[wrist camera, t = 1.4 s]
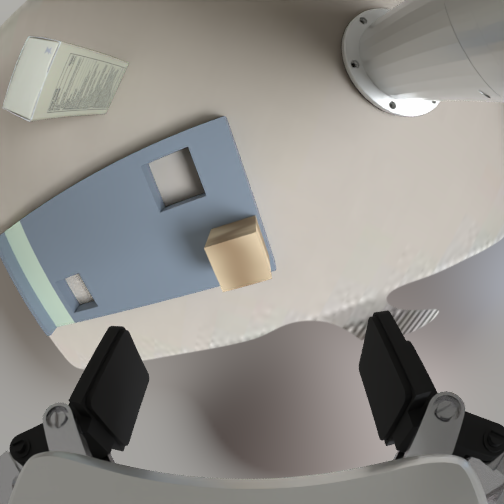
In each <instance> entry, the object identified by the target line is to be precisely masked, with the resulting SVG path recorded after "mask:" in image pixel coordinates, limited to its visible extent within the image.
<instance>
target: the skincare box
mask: <svg viewBox="0 0 504 504" xmlns="http://www.w3.org/2000/svg"><path fill="white" fill-rule="evenodd" d="M128 64H129V63H128V62H125V61H123V60H120V59H117V58H114V57H112V56H109V55H106V54H103V53H100V52H97V51H93V50H90V49H87V48H84V47H80V46H77V45H73V44H69V43H65V42H61V41H57V40H53V39H49V38H43V37H36V36H29V37H28V38H27V40H26V42H25V44H24V47H23V49H22V51H21V53H20V56H19V58H18V61H17V63H16V66H15V68H14V71H13V74H12V77H11V80H10V83H9V86H8V89H7V93H6V96H5V100H4V103H3V107H2V108H3V109H5V110H7V111H8V112H10V113H12V114H14V115H16V116H18V117H20V118H22V119H24V120H26V121H29V122H31V121H37V120H44V119H52V118H60V117H71V116H82V115H98V114H106V112H107V110H108V108H109V106H110V103H111V101H112V99H113V97H114V94H115V92H116V90H117V88H118V86H119V84H120V81H121V79H122V77H123V75H124V73H125V71H126V68H127V66H128Z"/></svg>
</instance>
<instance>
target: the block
mask: <svg viewBox="0 0 504 504" xmlns="http://www.w3.org/2000/svg"><path fill="white" fill-rule="evenodd" d="M204 249H205V252H206V254H207V256H208V259H209V261H210V263H211V266H212V268H213V270H214V273H215V275H216V277H217V279H218V282H219V284H220V286H221V289H222V291H223V292H226V291H229V290H233V289H237V288H240V287H244V286H248V285H251V284H255V283H258V282H262V281H266V280H269V279H272V276H271V267H270V259H269V254H268V251H267V248H266V245H265V242H264V239H263V236H262V233H261V230H260V227H259V224H258V221H257V218H256V215H255V216H252V217H248V218H245V219H242V220H239V221H235V222H232V223H229V224H226V225H223V226H220V227H216V228H213V229H211V231H210V234H209V236H208V239H207V242H206V244H205V247H204Z"/></svg>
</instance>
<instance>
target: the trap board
mask: <svg viewBox="0 0 504 504" xmlns="http://www.w3.org/2000/svg"><path fill="white" fill-rule="evenodd" d="M186 147H188V148H189V150H190V153H191V156H192V159H193V161H194V164H195V167H196V169H197V172H198V175H199V177H200V180H201V183H202V185H203V188H204V191H205V193H203V194H200V195H197V196H195V197H192V198H189V199H186V200H184V201H181V202H178V203H175V204H173V205H170V206H167V207H165V205H164V202H163V200H162V197H161V195H160V192H159V190H158V188H157V185H156V183H155V180H154V177H153V175H152V172H151V170H150V167H149V165H148V163H150V162H152V161H155V160H157V159H159V158H162V157H164V156H166V155H169V154H171V153H174V152H176V151H179V150H181V149H184V148H186ZM255 215H256V218H257V221H258V224H259V227H260V230H261V233H262V236H263V239H264V242H265V245H266V248H267V251H268V254H269V259H270V267H271V272H272V271H275V270H276V265H275V260H274V257H273V254H272V251H271V248H270V245H269V242H268V239H267V235H266V232H265V229H264V226H263V223H262V220H261V217H260V214H259V211H258V208H257V205H256V202H255V199H254V196H253V193H252V190H251V187H250V184H249V181H248V178H247V176H246V173H245V170H244V167H243V164H242V161H241V158H240V155H239V152H238V149H237V146H236V143H235V141H234V138H233V135H232V132H231V129H230V126H229V123H228V121H227V118H226V117H225V116H223V117H220V118H217V119H215V120H212V121H209V122H206V123H204V124H201V125H198V126H196V127H193V128H191V129H188V130H185V131H183V132H180V133H178V134H176V135H173V136H171V137H168V138H166V139H164V140H161V141H159V142H157V143H155V144H152V145H150V146H148V147H146V148H144V149H141V150H139V151H137V152H135V153H133V154H131V155H129V156H127V157H125V158H123V159H121V160H119V161H117V162H115V163H113V164H111V165H109V166H107V167H105V168H103V169H102V170H100V171H98V172H96V173H94V174H92V175H91V176H89V177H87V178H85V179H83V180H82V181H80V182H78V183H77V184H75V185H73V186H71V187H70V188H68V189H66V190H65V191H63V192H62V193H60V194H58V195H57V196H55V197H54V198H52V199H50V200H49V201H47V202H46V203H44V204H43V205H41V206H40V207H38V208H37V209H35V210H34V211H32V212H31V213H30V214H28V215H27V216H25V217H24V218H22V219H21V220H20V221H18V222H17V223H16V224H14V225H13V226H12V227H10V228H9V229H8V230H6V231H5V232H4V233H2V234H0V257H1V259H2V261H3V263H4V265H5V267H6V269H7V271H8V273H9V275H10V277H11V279H12V281H13V282H14V284H15V286H16V288H17V290H18V291H19V293H20V295H21V296H22V298H23V300H24V301H25V303H26V305H27V306H28V308H29V309H30V311H31V313H32V314H33V316H34V317H35V319H36V320H37V322H38V323H39V325H40V326H41V328H42V329H43V331H44V332H45V334H46V335H47V336H49V335H51V334H52V333H53V332H54V330H55V329H56V328H57V327H59V326H63V325H68V324H72V323H76V322H81V321H85V320H89V319H93V318H97V317H102V316H106V315H110V314H114V313H118V312H122V311H126V310H130V309H134V308H138V307H142V306H146V305H150V304H154V303H158V302H161V301H165V300H169V299H173V298H177V297H181V296H184V295H188V294H192V293H196V292H199V291H203V290H207V289H211V288H214V287H218V286H220V284H219V282H218V279H217V277H216V275H215V273H214V270H213V268H212V266H211V263H210V261H209V259H208V256H207V254H206V252H205V249H204V247H205V244H206V242H207V239H208V236H209V234H210V231H211V229H213V228H216V227H220V226H223V225H226V224H229V223H232V222H235V221H239V220H242V219H245V218H248V217H252V216H255ZM78 273H79V274H80V276H81V278H82V280H83V282H84V283H85V285H86V287H87V289H88V290H89V292H90V294H91V295H92V297H93V299H94V300H95V301H92V302H89V303H85V304H82V305H80V304H79V303H78V301H77V299H76V298H75V296H74V294H73V293H72V291H71V289H70V287H69V286H68V284H67V282H66V281H65V278H67V277H70V276H73V275H75V274H78Z"/></svg>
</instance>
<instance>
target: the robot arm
mask: <svg viewBox="0 0 504 504" xmlns="http://www.w3.org/2000/svg"><path fill="white" fill-rule="evenodd" d="M360 21H361V22H362V23H361V22H360ZM342 57H343V61H344V64H345V68H346V70H347V72H348V75H349V77H350V79H351V81H352V82H353V83H354V85H355V86H356V88H357V89H358V90H359V92H360V93H361V94H362V95H363V96H364V97H365V98H366V99H367V100H368V101H370V102H371V103H372V104H373V105H375V106H376V107H378V108H380V109H381V110H383V111H385V112H388V113H390V114H393V115H397V116H403V117H415V116H421V115H424V114H426V113H429V112H430V111H431V110H433V109H434V108H435V107H436V106H437V105H438V104H439V102H440V101H486V102H503V103H504V0H404V1H403V2H401V3H400V4H398V5H397V6H396V7H394V8H393V9H383V8H377V9H370V10H367V11H364V12H362V13H361V14H359V15H358V16H356V17H355V18H354V19H353V20H352V21H351V22H350V23H349V25H348V26H347V28H346V29H345V32H344V35H343V38H342ZM351 64H354V67H352V65H351ZM389 104H390V105H391V107H389ZM359 372H360V375H361V378H362V381H363V385H364V387H365V391H366V394H367V397H368V400H369V404H370V407H371V410H372V414H373V417H374V420H375V424H376V427H377V431H378V435H379V438H380V440H385V444H386V446H388V445H392V444H395V446H396V449H397V450H398V452H397V453H396V455H395V457H394V459H393V460H392V461H388V462H383V463H379V464H375V465H370V466H366V467H360V468H356V469H350V470H344V471H338V472H332V473H326V474H318V475H310V476H300V477H289V478H272V479H222V478H205V477H194V476H184V475H176V474H169V473H162V472H155V471H150V470H144V469H139V468H134V467H130V466H125V465H120V464H116V463H115V462H114V460H113V458H112V456H111V454H110V452H111V449H115V450H120V451H124V447H125V446H126V445H128V444H129V441H130V438H131V435H132V431H133V428H134V424H135V422H136V419H137V415H138V412H139V409H140V406H141V403H142V400H143V397H144V394H145V391H146V388H147V385H148V382H149V374H148V372H147V370H146V368H145V366H144V364H143V362H142V360H141V357H140V355H139V353H138V351H137V349H136V347H135V344H134V342H133V340H132V338H131V335H130V333H129V331H128V330H126V329H125V328H124V327H121V326H110V327H109V328H108V330H107V331H106V333H105V335H104V336H103V338H102V340H101V342H100V343H99V345H98V347H97V349H96V350H95V352H94V354H93V356H92V357H91V359H90V361H89V363H88V365H87V367H86V368H85V370H84V372H83V374H82V376H81V378H80V380H79V381H78V383H77V385H76V387H75V389H74V391H73V393H72V395H71V397H70V399H69V401H70V403H69V405H67V404H64V403H55V404H53V405H51V406H50V407H49V408H48V409H46V411H45V413H44V415H43V423H42V424H40V425H38V426H36V427H34V428H32V429H30V430H28V431H25V432H23V433H21V434H19V435H17V436H16V437H14V439H13V440H12V442H11V444H10V452H8V451H6V452H5V453H3V454H2V455H1V456H0V504H504V427H503V426H502V425H500V424H498V423H495V422H492V421H489V420H487V419H484V418H481V417H479V416H476V415H473V414H471V413H468V412H465V406H464V403H463V401H462V399H461V398H460V397H459V396H458V395H456V394H454V393H452V392H440V393H437V391H436V389H435V387H434V385H433V383H432V381H431V379H430V377H429V375H428V373H427V371H426V369H425V367H424V365H423V363H422V361H421V360H420V358H419V356H418V354H417V352H416V350H415V349H414V347H413V345H412V344H411V342H410V341H406V340H405V338H404V336H403V334H402V333H401V331H400V329H399V327H398V325H397V324H396V322H395V320H394V318H393V317H392V315H391V313H390V312H389V311H382V312H375V313H374V314H373V317H369V320H368V325H367V330H366V335H365V340H364V345H363V349H362V354H361V358H360V362H359Z"/></svg>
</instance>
